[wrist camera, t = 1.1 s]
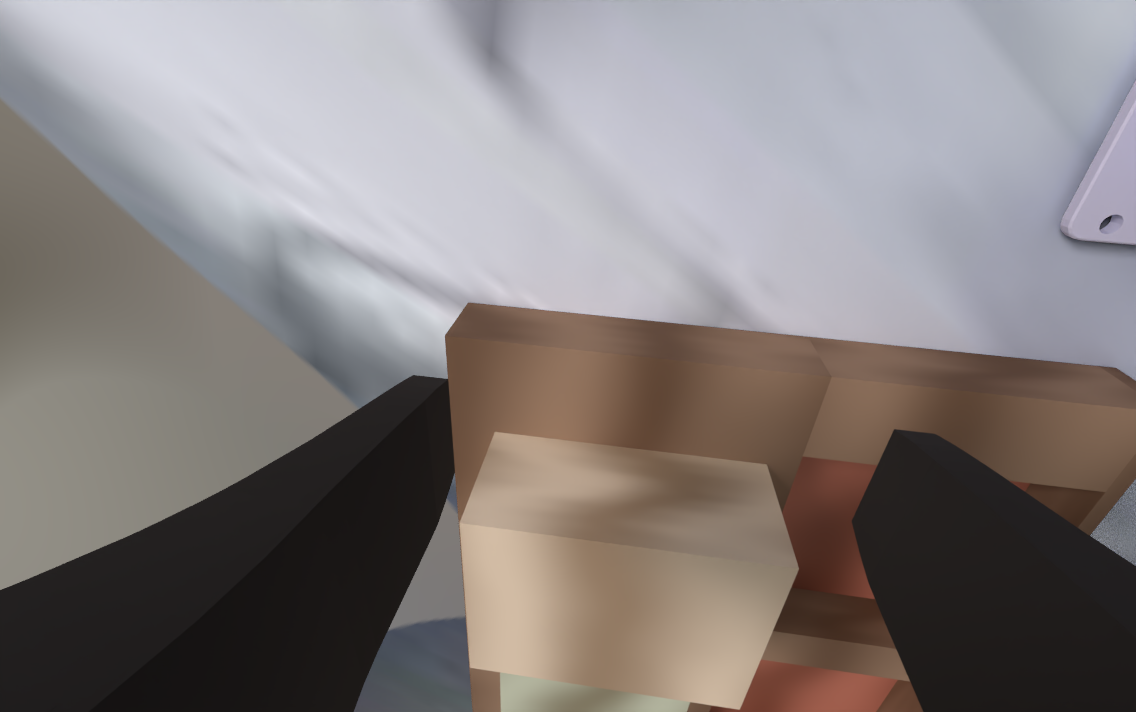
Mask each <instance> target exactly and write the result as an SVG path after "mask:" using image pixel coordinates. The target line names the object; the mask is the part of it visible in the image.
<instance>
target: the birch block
mask: <svg viewBox="0 0 1136 712" xmlns="http://www.w3.org/2000/svg"><path fill="white" fill-rule="evenodd" d="M460 536H461V550H462V564H463V577H464V591H465V605H466V619H467V632H468V646H469V660H470V668H475V669H481V670H488V671H494V672H501V673H507V674H514V675H520V676H526V677H533V678H539V679H546V680H552V681H558V682H565V683H571V684H578V685H584V686H590V687H597V688H603V689H610V690H616V691H622V692H629V693H635V694H642V695H648V696H654V697H661V698H667V699H674V700H680V701H687V702H693V703H699V704H706V705H712V706H719V707H725V708H731V709H738V710H740V708H741V706H742V703H743V701H744V698H745V696H746V694H747V691H748V689H749V687H750V684H751V682H752V679H753V677H754V675H755V672H756V670H757V668H758V665H759V663H760V660H761V658H762V656H763V653H764V651H765V649H766V646H767V644H768V641H769V639H770V637H771V634H772V632H773V630H774V627H775V625H776V622H777V620H778V618H779V615H780V613H781V611H782V608H783V606H784V603H785V601H786V599H787V596H788V594H789V591H790V589H791V587H792V584H793V582H794V580H795V577H796V575H797V572H798V570H799V567H798V563H797V560H796V557H795V554H794V551H793V547H792V544H791V541H790V538H789V534H788V531H787V528H786V525H785V522H784V518H783V515H782V512H781V509H780V505H779V502H778V499H777V496H776V492H775V489H774V486H773V483H772V480H771V476H770V473H769V470H768V467H767V464H759V463H751V462H742V461H734V460H726V459H717V458H709V457H701V456H692V455H684V454H676V453H667V452H659V451H651V450H642V449H634V448H626V447H617V446H609V445H601V444H592V443H584V442H576V441H567V440H559V439H551V438H542V437H534V436H526V435H517V434H509V433H501V432H495V433H494V436H493V438H492V441H491V443H490V446H489V448H488V451H487V454H486V456H485V459H484V461H483V464H482V466H481V469H480V472H479V474H478V477H477V479H476V482H475V484H474V487H473V490H472V492H471V495H470V497H469V500H468V503H467V505H466V508H465V510H464V513H463V515H462V518H461V521H460Z"/></svg>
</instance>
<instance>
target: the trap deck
mask: <svg viewBox="0 0 1136 712" xmlns="http://www.w3.org/2000/svg"><path fill="white" fill-rule="evenodd" d="M445 343H446V356H447V370H448V382H449V396H450V409H451V423H452V437H453V450H454V464H455V478H456V492H457V505H458V519H459V532H460V521H461V518H462V515H463V513H464V510H465V508H466V505H467V503H468V500H469V497H470V495H471V492H472V490H473V487H474V484H475V482H476V479H477V477H478V474H479V472H480V469H481V466H482V464H483V461H484V459H485V456H486V454H487V451H488V448H489V446H490V443H491V441H492V438H493V436H494V433H495V432H501V433H509V434H517V435H526V436H534V437H542V438H551V439H559V440H567V441H576V442H584V443H592V444H601V445H609V446H617V447H626V448H634V449H642V450H651V451H659V452H667V453H676V454H684V455H692V456H701V457H709V458H717V459H726V460H734V461H742V462H751V463H759V464H767V467H768V470H769V473H770V476H771V480H772V483H773V486H774V489H775V492H776V496H777V499H778V502H779V505H780V509H781V512H782V515H783V518H784V522H785V525H786V528H787V531H788V534H789V538H790V541H791V544H792V547H793V551H794V554H795V557H796V560H797V563H798V567H799V570H798V572H797V575H796V577H795V580H794V582H793V584H792V587H791V589H790V591H789V594H788V596H787V599H786V601H785V603H784V606H783V608H782V611H781V613H780V615H779V618H778V620H777V622H776V625H775V627H774V630H773V632H772V634H771V637H770V639H769V641H768V644H767V646H766V649H765V651H764V653H763V656H762V658H761V660H760V663H759V665H758V668H757V670H756V672H755V675H754V677H753V679H752V682H751V684H750V687H749V689H748V691H747V694H746V696H745V698H744V701H743V703H742V706H741V708H740V710H738V709H731V708H725V707H719V706H712V705H706V704H699V703H693V702H687V701H680V700H674V699H667V698H661V697H654V696H648V695H642V694H635V693H629V692H622V691H616V690H610V689H603V688H597V687H590V686H584V685H578V684H571V683H565V682H558V681H552V680H546V679H539V678H533V677H526V676H520V675H514V674H507V673H501V672H494V671H488V670H481V669H475V668H470V660H469V668H470V681H471V695H472V708H473V712H923V710H922V708H921V705H920V703H919V701H918V699H917V696H916V694H915V692H914V689H913V687H912V685H911V682H910V680H909V678H908V675H907V673H906V671H905V668H904V666H903V664H902V661H901V659H900V657H899V654H898V652H897V650H896V648H895V645H894V643H893V641H892V638H891V636H890V634H889V631H888V629H887V626H886V624H885V622H884V619H883V617H882V615H881V612H880V610H879V607H878V605H877V603H876V600H875V598H874V595H873V593H872V590H871V588H870V586H869V583H868V580H867V577H866V573H865V570H864V567H863V563H862V560H861V556H860V553H859V549H858V545H857V541H856V537H855V533H854V529H853V525H852V519H853V517H854V515H855V512H856V510H857V508H858V506H859V504H860V502H861V500H862V497H863V495H864V493H865V491H866V489H867V487H868V485H869V482H870V480H871V478H872V476H873V474H874V472H875V469H876V467H877V465H878V463H879V461H880V459H881V457H882V454H883V452H884V450H885V448H886V446H887V444H888V441H889V439H890V437H891V435H892V433H893V431H894V429H897V430H906V431H915V432H924V433H933V434H936V435H938V436H940V437H942V438H943V439H945V440H947V441H949V442H950V443H952V444H954V445H955V446H957V447H959V448H960V449H962V450H963V451H965V452H966V453H968V454H970V455H971V456H973V457H974V458H976V459H977V460H979V461H980V462H982V463H983V464H985V465H986V466H988V467H989V468H991V469H992V470H994V471H995V472H997V473H998V474H1000V475H1001V476H1003V477H1004V478H1006V479H1007V480H1008V481H1010V482H1011V483H1013V484H1014V485H1016V486H1017V487H1019V488H1020V489H1022V490H1023V491H1025V492H1026V493H1027V494H1029V495H1030V496H1032V497H1033V498H1035V499H1036V500H1038V501H1039V502H1041V503H1042V504H1044V505H1045V506H1047V507H1048V508H1049V509H1051V510H1052V511H1054V512H1055V513H1057V514H1058V515H1060V516H1061V517H1063V518H1064V519H1066V520H1067V521H1069V522H1070V523H1071V524H1073V525H1074V526H1076V527H1077V528H1079V529H1080V530H1082V531H1083V532H1085V533H1086V534H1088V535H1089V536H1090V535H1091V533H1092V532H1093V531H1094V530H1095V528H1096V527H1097V526H1098V525H1099V523H1100V522H1101V521H1102V520H1103V518H1104V517H1105V516H1106V515H1107V514H1108V512H1109V511H1110V510H1111V509H1112V507H1113V506H1114V505H1115V504H1116V502H1117V501H1118V500H1119V499H1120V497H1121V496H1122V495H1123V494H1124V493H1125V491H1126V490H1127V489H1128V488H1129V486H1130V485H1131V484H1132V483H1133V481H1134V480H1135V479H1136V381H1135V380H1133V379H1132V378H1130V377H1129V376H1127V375H1126V374H1124V373H1123V372H1121V371H1120V370H1118V369H1117V368H1110V367H1100V366H1091V365H1081V364H1071V363H1061V362H1051V361H1041V360H1031V359H1021V358H1011V357H1001V356H991V355H982V354H972V353H962V352H952V351H942V350H932V349H922V348H912V347H902V346H892V345H882V344H873V343H863V342H853V341H843V340H833V339H823V338H813V337H803V336H793V335H783V334H773V333H764V332H754V331H744V330H734V329H724V328H714V327H704V326H694V325H684V324H674V323H664V322H655V321H645V320H635V319H625V318H615V317H605V316H595V315H585V314H575V313H565V312H555V311H546V310H536V309H526V308H516V307H506V306H496V305H486V304H476V303H468V304H467V305H466V307H465V308H464V309H463V311H462V312H461V314H460V315H459V317H458V318H457V319H456V321H455V322H454V324H453V325H452V327H451V328H450V329H449V331H448V332H447V334H446V335H445ZM460 546H461V536H460ZM461 559H462V550H461ZM462 573H463V564H462ZM463 585H464V577H463ZM464 600H465V591H464ZM465 614H466V605H465ZM466 627H467V619H466ZM467 641H468V632H467ZM468 654H469V646H468Z"/></svg>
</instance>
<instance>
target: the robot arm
mask: <svg viewBox="0 0 1136 712" xmlns="http://www.w3.org/2000/svg"><path fill="white" fill-rule="evenodd" d="M1111 215H1112V218H1111V221H1110V222H1109V224H1108V225H1107V226H1105V227H1104V228H1102V229H1099V227H1100V224H1101V222H1102V221H1103V220H1104V219H1105V218H1107V217H1109V216H1111ZM1060 226H1061V231H1062V232H1063V233H1064V234H1065V235H1066V236H1069V237H1071V238H1074V239H1077V240H1081V241H1093V242H1105V243H1117V244H1129V245H1136V81H1135V83H1134V84H1133V86H1132V88H1131V90H1130V92H1129V94H1128V96H1127V98H1126V99H1125V101H1124V103H1123V105H1122V107H1121V109H1120V111H1119V113H1118V114H1117V116H1116V118H1115V120H1114V122H1113V124H1112V126H1111V128H1110V129H1109V131H1108V133H1107V135H1106V137H1105V139H1104V141H1103V143H1102V144H1101V146H1100V148H1099V150H1098V152H1097V154H1096V156H1095V158H1094V160H1093V161H1092V163H1091V165H1090V167H1089V169H1088V171H1087V173H1086V175H1085V176H1084V178H1083V180H1082V182H1081V184H1080V186H1079V188H1078V190H1077V191H1076V193H1075V195H1074V197H1073V199H1072V201H1071V203H1070V205H1069V206H1068V208H1067V210H1066V212H1065V214H1064V216H1063V218H1062V221H1061V224H1060ZM454 473H455V464H454V450H453V437H452V423H451V409H450V396H449V382H448V379H443V378H434V377H425V376H416V375H413V376H411V377H409V378H408V379H406V380H404V381H402V382H401V383H399V384H397V385H396V386H394V387H393V388H391V389H389V390H388V391H386V392H385V393H383V394H382V395H380V396H379V397H377V398H376V399H374V400H372V401H371V402H369V403H368V404H366V405H365V406H363V407H362V408H360V409H359V410H357V411H355V412H354V413H352V414H351V415H349V416H348V417H346V418H345V419H343V420H341V421H340V422H338V423H337V424H335V425H333V426H332V427H330V428H329V429H327V430H326V431H324V432H323V433H321V434H319V435H318V436H316V437H314V438H313V439H312V440H310V441H308V442H306V443H305V444H303V445H301V446H299V447H298V448H296V449H294V450H293V451H291V452H289V453H288V454H286V455H284V456H282V457H280V458H279V459H277V460H275V461H273V462H272V463H270V464H268V465H267V466H265V467H263V468H261V469H260V470H258V471H256V472H254V473H253V474H251V475H249V476H248V477H246V478H244V479H242V480H241V481H239V482H237V483H235V484H233V485H231V486H229V487H228V488H226V489H224V490H222V491H220V492H218V493H216V494H214V495H212V496H211V497H208V498H207V499H205V500H203V501H201V502H199V503H197V504H195V505H193V506H191V507H189V508H186V509H185V510H182V511H180V512H178V513H176V514H174V515H172V516H170V517H168V518H166V519H164V520H162V521H160V522H158V523H156V524H154V525H152V526H149V527H147V528H145V529H143V530H141V531H139V532H136V533H134V534H132V535H130V536H128V537H125V538H123V539H121V540H118V541H116V542H114V543H111V544H109V545H107V546H104V547H102V548H100V549H97V550H95V551H93V552H90V553H88V554H86V555H83V556H81V557H79V558H76V559H74V560H72V561H69V562H67V563H65V564H62V565H60V566H58V567H55V568H53V569H51V570H48V571H46V572H44V573H41V574H39V575H37V576H34V577H32V578H30V579H27V580H25V581H22V582H20V583H17V584H15V585H12V586H10V587H7V588H5V589H2V590H0V712H354V709H355V706H356V704H357V701H358V698H359V696H360V693H361V690H362V687H363V685H364V682H365V680H366V678H367V675H368V673H369V671H370V668H371V666H372V664H373V661H374V659H375V657H376V654H377V652H378V650H379V648H380V646H381V644H382V641H383V639H384V637H385V635H386V633H387V631H388V629H389V627H390V625H391V623H392V620H393V618H394V616H395V614H396V612H397V610H398V608H399V606H400V604H401V602H402V599H403V597H404V595H405V593H406V591H407V589H408V587H409V585H410V583H411V580H412V578H413V576H414V574H415V572H416V570H417V568H418V566H419V564H420V561H421V559H422V557H423V555H424V553H425V551H426V548H427V546H428V544H429V542H430V540H431V538H432V536H433V533H434V531H435V529H436V527H437V525H438V522H439V519H440V516H441V513H442V510H443V507H444V504H445V502H446V498H447V495H448V492H449V489H450V486H451V483H452V479H453V476H454ZM852 525H853V529H854V533H855V537H856V541H857V545H858V549H859V553H860V556H861V560H862V563H863V567H864V570H865V573H866V577H867V580H868V583H869V586H870V588H871V590H872V593H873V595H874V598H875V600H876V603H877V605H878V607H879V610H880V612H881V615H882V617H883V619H884V622H885V624H886V626H887V629H888V631H889V634H890V636H891V638H892V641H893V643H894V645H895V648H896V650H897V652H898V654H899V657H900V659H901V661H902V664H903V666H904V668H905V671H906V673H907V675H908V678H909V680H910V682H911V685H912V687H913V689H914V692H915V694H916V696H917V699H918V701H919V703H920V705H921V708H922V710H923V712H1136V566H1135V565H1133V564H1132V563H1130V562H1128V561H1127V560H1125V559H1124V558H1122V557H1121V556H1119V555H1118V554H1116V553H1115V552H1113V551H1112V550H1110V549H1109V548H1107V547H1106V546H1104V545H1103V544H1101V543H1100V542H1098V541H1097V540H1095V539H1094V538H1092V537H1091V536H1089V535H1088V534H1086V533H1085V532H1083V531H1082V530H1080V529H1079V528H1077V527H1076V526H1074V525H1073V524H1071V523H1070V522H1069V521H1067V520H1066V519H1064V518H1063V517H1061V516H1060V515H1058V514H1057V513H1055V512H1054V511H1052V510H1051V509H1049V508H1048V507H1047V506H1045V505H1044V504H1042V503H1041V502H1039V501H1038V500H1036V499H1035V498H1033V497H1032V496H1030V495H1029V494H1027V493H1026V492H1025V491H1023V490H1022V489H1020V488H1019V487H1017V486H1016V485H1014V484H1013V483H1011V482H1010V481H1008V480H1007V479H1006V478H1004V477H1003V476H1001V475H1000V474H998V473H997V472H995V471H994V470H992V469H991V468H989V467H988V466H986V465H985V464H983V463H982V462H980V461H979V460H977V459H976V458H974V457H973V456H971V455H970V454H968V453H966V452H965V451H963V450H962V449H960V448H959V447H957V446H955V445H954V444H952V443H950V442H949V441H947V440H945V439H943V438H942V437H940V436H938V435H936V434H933V433H924V432H915V431H906V430H897V429H894V431H893V433H892V435H891V437H890V439H889V441H888V444H887V446H886V448H885V450H884V452H883V454H882V457H881V459H880V461H879V463H878V465H877V467H876V469H875V472H874V474H873V476H872V478H871V480H870V482H869V485H868V487H867V489H866V491H865V493H864V495H863V497H862V500H861V502H860V504H859V506H858V508H857V510H856V512H855V515H854V517H853V519H852Z"/></svg>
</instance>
